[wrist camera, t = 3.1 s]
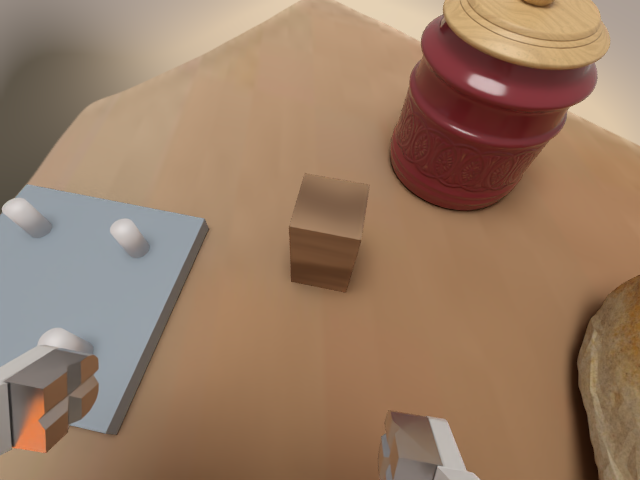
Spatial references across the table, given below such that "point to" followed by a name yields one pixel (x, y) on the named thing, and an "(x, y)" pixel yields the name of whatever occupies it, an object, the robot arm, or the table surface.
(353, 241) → the walnut block
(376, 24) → the table surface
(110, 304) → the peg seat
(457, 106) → the canister
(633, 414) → the rough brown rock
